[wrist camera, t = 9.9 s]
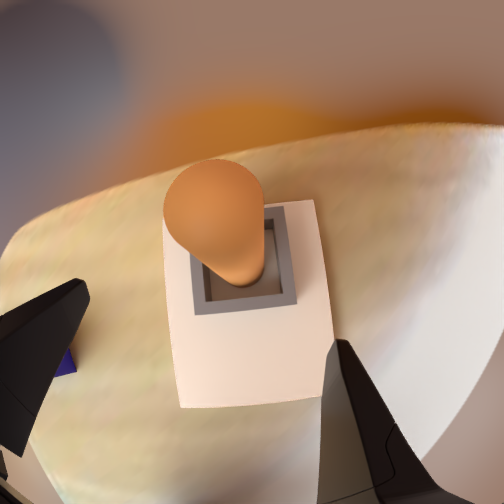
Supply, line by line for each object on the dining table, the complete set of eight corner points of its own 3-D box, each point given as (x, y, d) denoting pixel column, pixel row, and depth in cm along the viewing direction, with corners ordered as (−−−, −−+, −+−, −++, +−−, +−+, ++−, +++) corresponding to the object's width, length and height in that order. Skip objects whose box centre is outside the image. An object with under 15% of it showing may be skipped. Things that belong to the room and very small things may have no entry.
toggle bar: (272, 275, 21) (282, 225, 8) (232, 295, 21) (186, 273, 8) (252, 237, 21) (236, 144, 9) (213, 256, 21) (151, 187, 9)
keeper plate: (335, 389, 20) (347, 402, 16) (184, 404, 20) (170, 418, 16) (311, 204, 23) (318, 186, 19) (166, 222, 23) (151, 207, 20)
